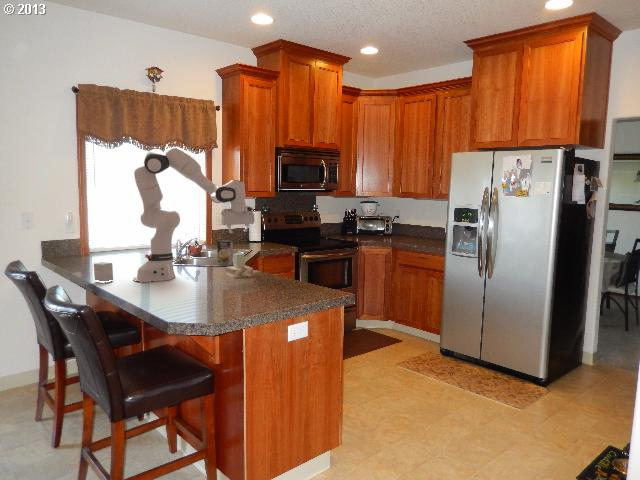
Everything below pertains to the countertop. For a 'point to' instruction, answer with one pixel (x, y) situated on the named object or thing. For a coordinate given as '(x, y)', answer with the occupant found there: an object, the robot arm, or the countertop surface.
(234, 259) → the green block
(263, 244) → the countertop surface
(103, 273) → the small box
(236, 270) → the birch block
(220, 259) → the coffee box
